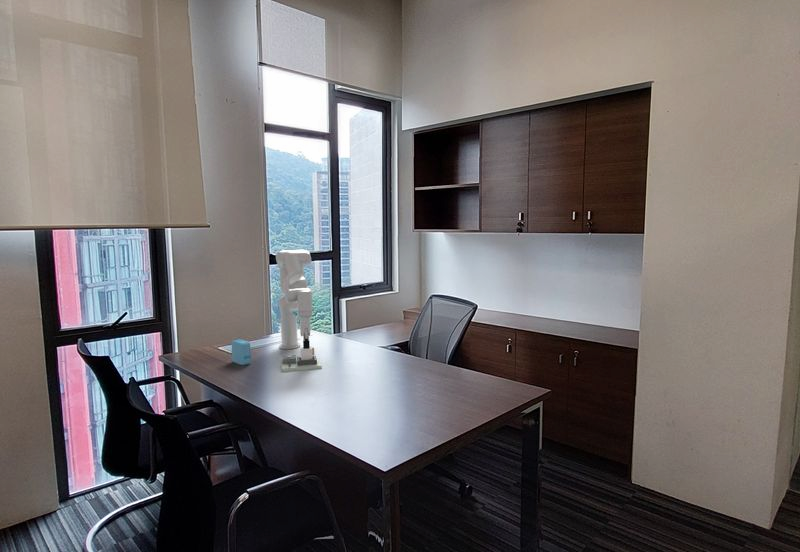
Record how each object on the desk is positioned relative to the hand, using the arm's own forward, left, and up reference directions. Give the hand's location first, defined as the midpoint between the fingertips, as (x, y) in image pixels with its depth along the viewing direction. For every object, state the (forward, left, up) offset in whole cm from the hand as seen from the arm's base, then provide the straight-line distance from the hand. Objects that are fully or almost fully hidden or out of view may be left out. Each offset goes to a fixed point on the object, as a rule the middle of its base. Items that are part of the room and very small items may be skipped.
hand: (306, 348), depth 251 cm
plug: (0, 0, -8) cm, 8 cm away
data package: (-16, -34, -10) cm, 39 cm away
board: (-1, -3, -10) cm, 10 cm away
